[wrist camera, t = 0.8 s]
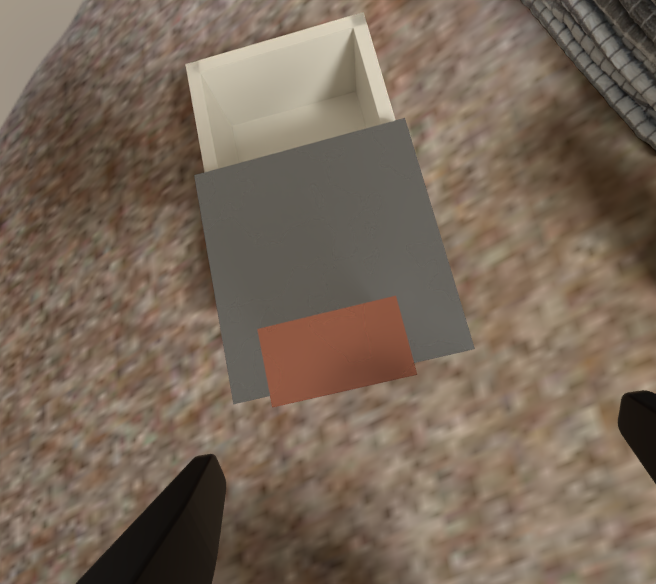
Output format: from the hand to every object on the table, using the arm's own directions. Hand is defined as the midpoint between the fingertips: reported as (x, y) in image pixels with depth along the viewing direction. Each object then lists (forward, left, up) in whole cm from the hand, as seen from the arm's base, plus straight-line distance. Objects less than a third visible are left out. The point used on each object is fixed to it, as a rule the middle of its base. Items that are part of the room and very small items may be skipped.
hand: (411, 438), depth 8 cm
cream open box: (+8, +13, -15) cm, 22 cm away
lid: (+3, +6, -9) cm, 12 cm away
